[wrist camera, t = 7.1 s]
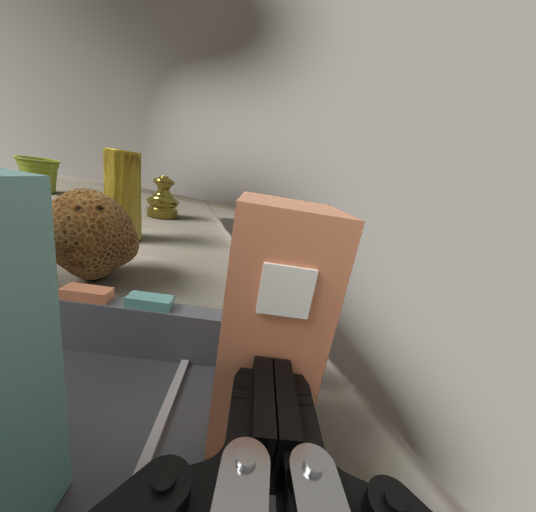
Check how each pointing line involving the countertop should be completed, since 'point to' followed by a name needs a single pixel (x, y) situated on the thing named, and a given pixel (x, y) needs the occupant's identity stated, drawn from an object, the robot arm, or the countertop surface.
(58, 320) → the key teal
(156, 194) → the olive glossy tiered piece
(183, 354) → the grey divided tray
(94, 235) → the natural sponge
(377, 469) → the countertop surface
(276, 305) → the key terracotta
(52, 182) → the plant pot
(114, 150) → the vase
